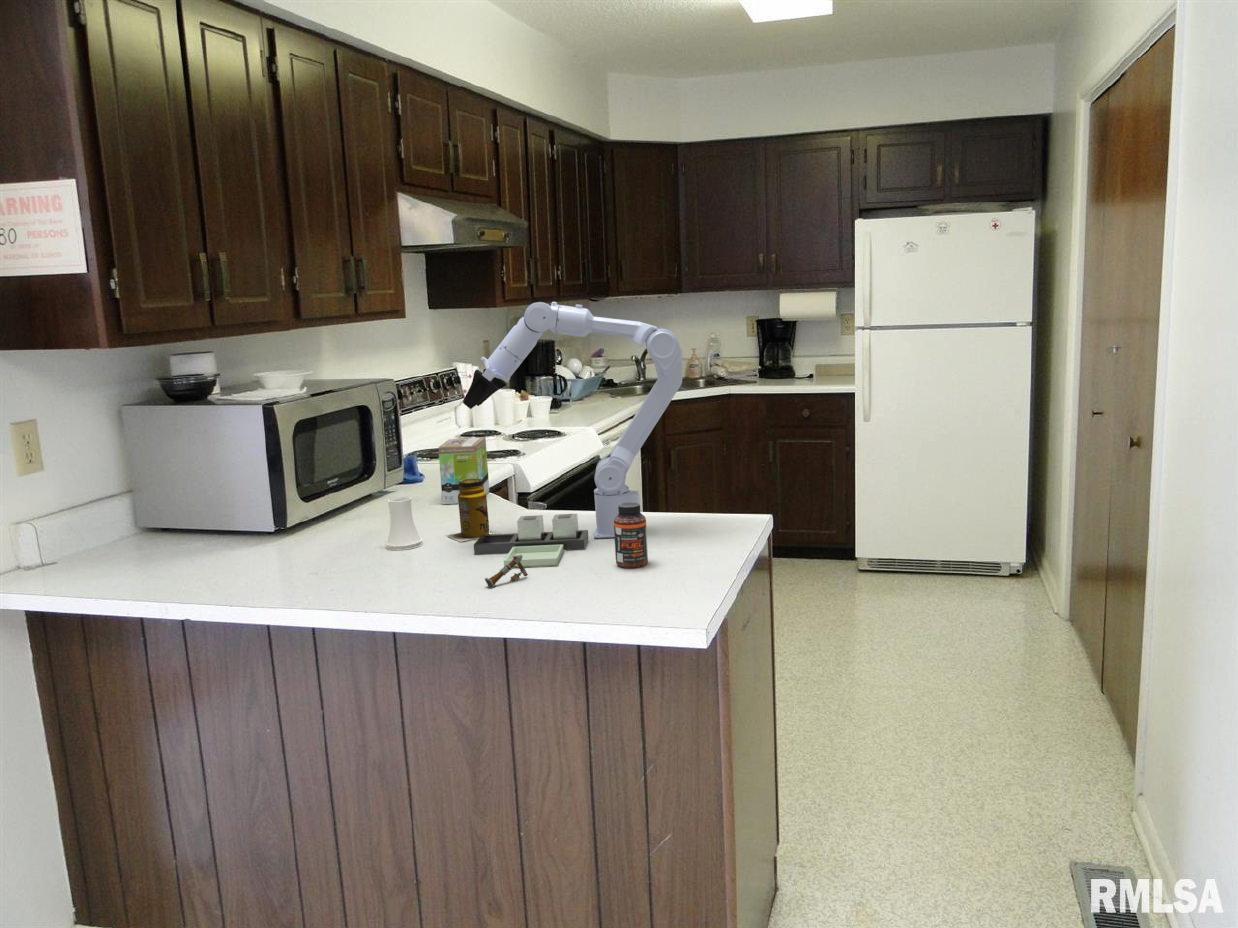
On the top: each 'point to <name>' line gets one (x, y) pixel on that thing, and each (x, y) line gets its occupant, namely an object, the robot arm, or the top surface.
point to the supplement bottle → (630, 536)
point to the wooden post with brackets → (506, 569)
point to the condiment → (472, 510)
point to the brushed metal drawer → (565, 526)
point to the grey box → (531, 528)
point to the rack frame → (525, 542)
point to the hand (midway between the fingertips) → (470, 404)
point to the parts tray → (536, 555)
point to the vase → (402, 525)
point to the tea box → (462, 465)
